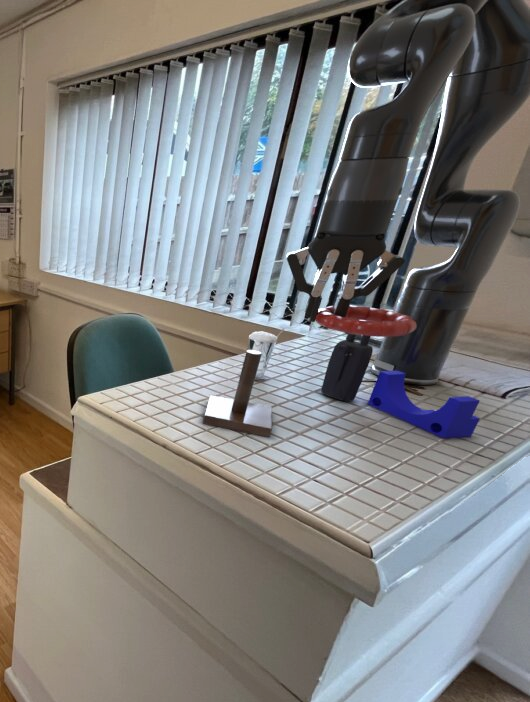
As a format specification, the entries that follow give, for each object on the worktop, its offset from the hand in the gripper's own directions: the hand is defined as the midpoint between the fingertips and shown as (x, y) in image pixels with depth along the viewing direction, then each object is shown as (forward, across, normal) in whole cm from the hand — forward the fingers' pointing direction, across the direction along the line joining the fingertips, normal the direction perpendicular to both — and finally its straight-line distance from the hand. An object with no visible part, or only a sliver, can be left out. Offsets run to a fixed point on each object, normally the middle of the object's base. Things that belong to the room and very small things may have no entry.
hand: (322, 321), depth 69 cm
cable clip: (+16, -16, -8) cm, 24 cm away
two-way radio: (+16, -6, -12) cm, 21 cm away
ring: (-1, -4, 0) cm, 5 cm away
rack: (+16, +8, +6) cm, 19 cm away
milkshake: (+16, +6, -16) cm, 23 cm away
